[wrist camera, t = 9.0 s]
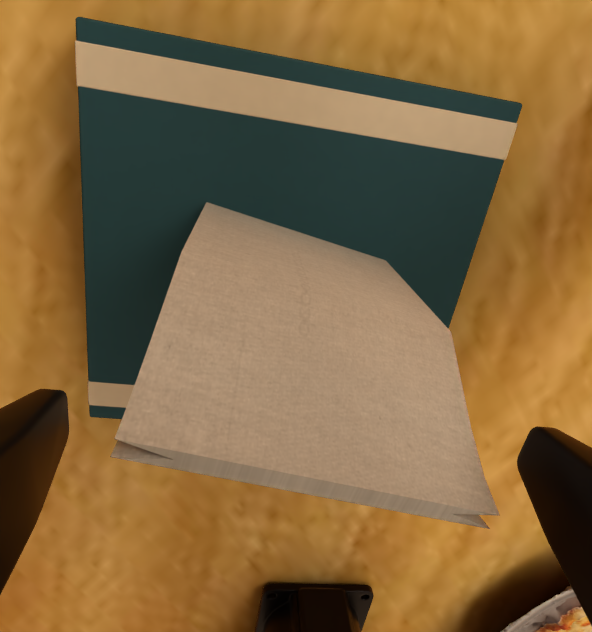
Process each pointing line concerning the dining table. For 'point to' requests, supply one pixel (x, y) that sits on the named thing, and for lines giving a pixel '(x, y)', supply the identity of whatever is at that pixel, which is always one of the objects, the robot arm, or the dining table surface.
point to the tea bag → (304, 376)
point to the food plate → (554, 616)
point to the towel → (264, 173)
